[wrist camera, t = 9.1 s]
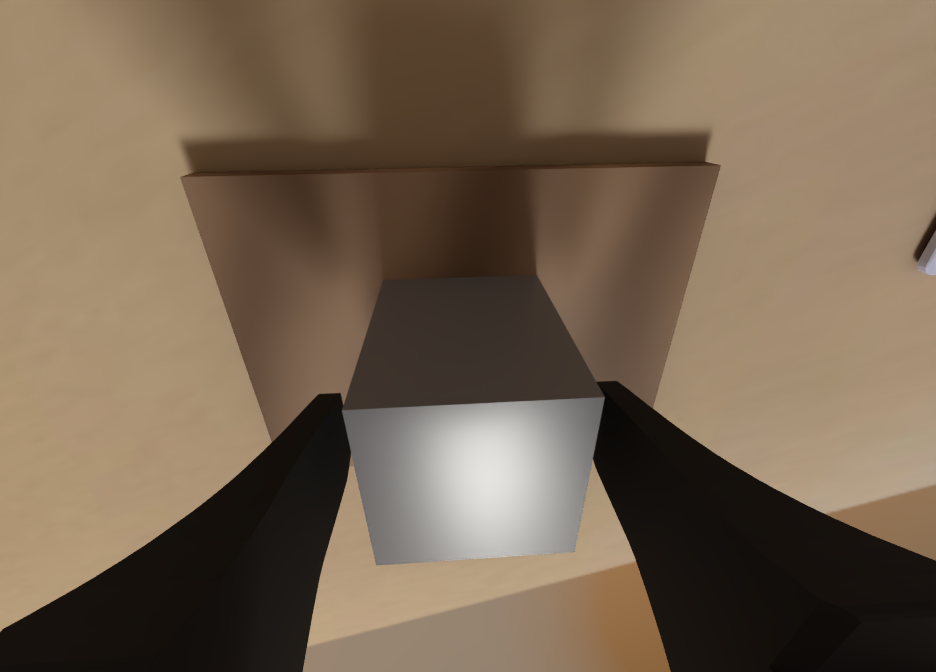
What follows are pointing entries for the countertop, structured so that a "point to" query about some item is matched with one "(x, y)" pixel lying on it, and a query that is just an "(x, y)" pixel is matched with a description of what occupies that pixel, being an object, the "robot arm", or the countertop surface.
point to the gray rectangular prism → (470, 421)
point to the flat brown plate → (447, 258)
